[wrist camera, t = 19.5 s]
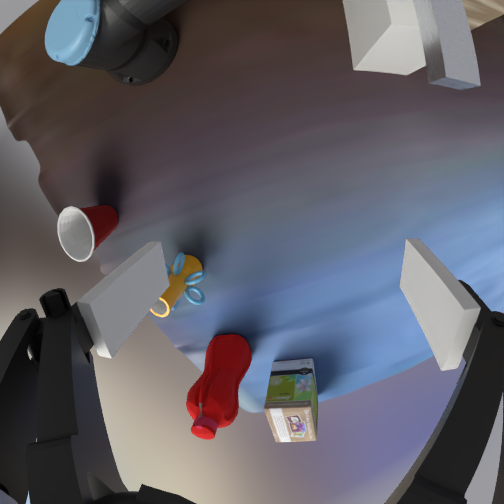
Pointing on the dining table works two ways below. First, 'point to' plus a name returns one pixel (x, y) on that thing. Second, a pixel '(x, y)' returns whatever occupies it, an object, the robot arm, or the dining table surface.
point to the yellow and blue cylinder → (180, 284)
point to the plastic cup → (85, 229)
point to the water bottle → (218, 385)
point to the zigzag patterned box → (482, 11)
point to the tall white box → (384, 36)
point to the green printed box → (292, 401)
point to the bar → (447, 43)
